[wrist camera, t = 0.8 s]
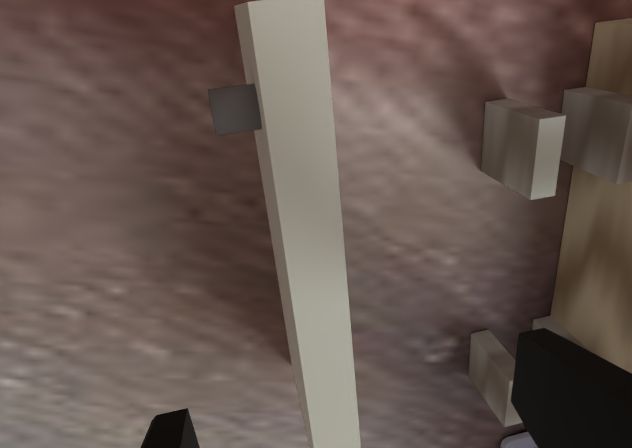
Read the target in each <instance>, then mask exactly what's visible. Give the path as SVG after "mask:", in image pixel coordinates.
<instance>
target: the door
mask: <svg viewBox="0 0 632 448" xmlns="http://www.w3.org/2000/svg"><path fill="white" fill-rule="evenodd" d="M234 10H235V16H236V22H237V28H238V34H239V41H240V47H241V53H242V59H243V66H244V72H245V78H246V85H239V86H231V87H224V88H216V89H209V90H208V93H209V100H210V106H211V111H212V116H213V121H214V126H215V131H216V134H217V136H220V135H226V134H233V133H240V132H247V131H254V134H255V140H256V146H257V153H258V159H259V165H260V171H261V177H262V184H263V190H264V196H265V202H266V209H267V215H268V221H269V227H270V233H271V240H272V246H273V252H274V258H275V265H276V271H277V277H278V283H279V289H280V296H281V302H282V308H283V314H284V320H285V327H286V333H287V339H288V345H289V352H290V358H291V364H292V369H293V373H294V378H295V382H296V387H297V391H298V396H299V400H300V405H301V409H302V414H303V418H304V423H305V427H306V432H307V436H308V441H309V445H310V448H361V443H360V431H359V419H358V407H357V395H356V383H355V371H354V359H353V346H352V334H351V322H350V310H349V298H348V286H347V274H346V261H345V249H344V237H343V225H342V213H341V201H340V189H339V177H338V164H337V152H336V140H335V128H334V116H333V104H332V92H331V80H330V67H329V55H328V43H327V31H326V19H325V7H324V0H260V1H251V2H245V3H242V4H239V5H236V6H234Z"/></svg>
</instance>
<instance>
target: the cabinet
mask: <svg viewBox="0 0 632 448" xmlns="http://www.w3.org/2000/svg"><path fill="white" fill-rule="evenodd" d="M560 161H563V162H565V163H568V164H570V165H572V166H573V172H572V179H571V185H570V191H569V198H568V204H567V211H566V217H565V224H564V230H563V237H562V243H561V250H560V256H559V263H558V269H557V276H556V282H555V289H554V295H553V302H552V308H551V315H550V316H546V317H542V318H537V319H533V327H532V330H536V329H540V328H546V329H548V330H550V331H552V332H554V333H556V334H558V335H560V336H562V337H564V338H566V339H568V340H570V341H572V342H573V343H575V344H577V345H579V346H581V347H583V348H585V349H587V350H588V351H590V352H592V353H594V354H596V355H598V356H600V357H601V358H603V359H605V360H607V361H609V362H611V363H613V364H615V365H616V366H618V367H620V368H622V369H624V370H626V371H628V372H630V373H632V18H628V19H620V20H612V21H604V22H597V23H595V29H594V36H593V42H592V49H591V55H590V62H589V68H588V75H587V81H586V87H581V88H574V89H567V90H564V97H563V104H562V112H561V114H560V113H556V112H553V111H549V110H546V109H542V108H539V107H535V106H532V105H529V104H525V103H522V102H518V101H515V100H511V99H501V100H494V101H488V102H485V116H484V132H483V148H482V165H481V171H482V172H484V173H485V174H487V175H489V176H490V177H492V178H494V179H495V180H497V181H499V182H500V183H502V184H504V185H506V186H507V187H509V188H511V189H512V190H514V191H516V192H517V193H519V194H521V195H523V196H524V197H526V198H528V199H529V200H534V199H540V198H545V197H550V196H555V191H556V184H557V177H558V170H559V163H560ZM515 361H516V360H515V359H514V358H513V357H512V356H511V355H510V353H509V352H508V351H507V350H506V349H505V348H504V346H503V345H502V344H501V343H500V342H499V341H498V340H497V338H496V337H495V336H494V335H493V334H492V333H491V332H490V330H489V329H488V330H484V331H480V332H475V333H471V343H470V359H469V375H468V376H469V378H470V379H471V381H472V382H473V384H474V385H475V386H476V388H477V389H478V391H479V392H480V394H481V395H482V396H483V398H484V399H485V401H486V402H487V403H488V405H489V406H490V408H491V409H492V411H493V412H494V413H495V415H496V416H497V418H498V419H499V421H500V422H501V423H502V425H503V426H504V427H508V426H512V425H516V424H520V423H523V422H522V420H521V419H520V417H519V415H518V413H517V412H516V410H515V408H514V406H513V404H512V403H511V394H512V386H513V378H514V370H515Z"/></svg>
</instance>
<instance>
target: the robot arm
mask: <svg viewBox="0 0 632 448" xmlns="http://www.w3.org/2000/svg"><path fill="white" fill-rule="evenodd" d="M511 403H512V404H513V406H514V408H515V410H516V412H517V413H518V415H519V417H520V419H521V420H522V422H523V424H524V426H525V427H526V429H527V431H528V432H524V433H520V434H517V435H513V436H509V437H506V438H505V439H503V441H502V442H501V447H500V448H632V373H630V372H628V371H626V370H624V369H622V368H620V367H618V366H616V365H615V364H613V363H611V362H609V361H607V360H605V359H603V358H601V357H600V356H598V355H596V354H594V353H592V352H590V351H588V350H587V349H585V348H583V347H581V346H579V345H577V344H575V343H573V342H572V341H570V340H568V339H566V338H564V337H562V336H560V335H558V334H556V333H554V332H552V331H550V330H548V329H546V328H540V329H536V330H532V331H527V332H523V333H519V337H518V345H517V353H516V361H515V370H514V378H513V386H512V394H511ZM141 448H200V447H199V444H198V441H197V437H196V434H195V431H194V427H193V424H192V421H191V417H190V414H189V411H188V408H187V409H182V410H178V411H173V412H169V413H164V414H160V415H156V416H155V418H154V419H153V420H152V422H151V424H150V427H149V429H148V432H147V434H146V436H145V439H144V441H143V443H142V446H141Z"/></svg>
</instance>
